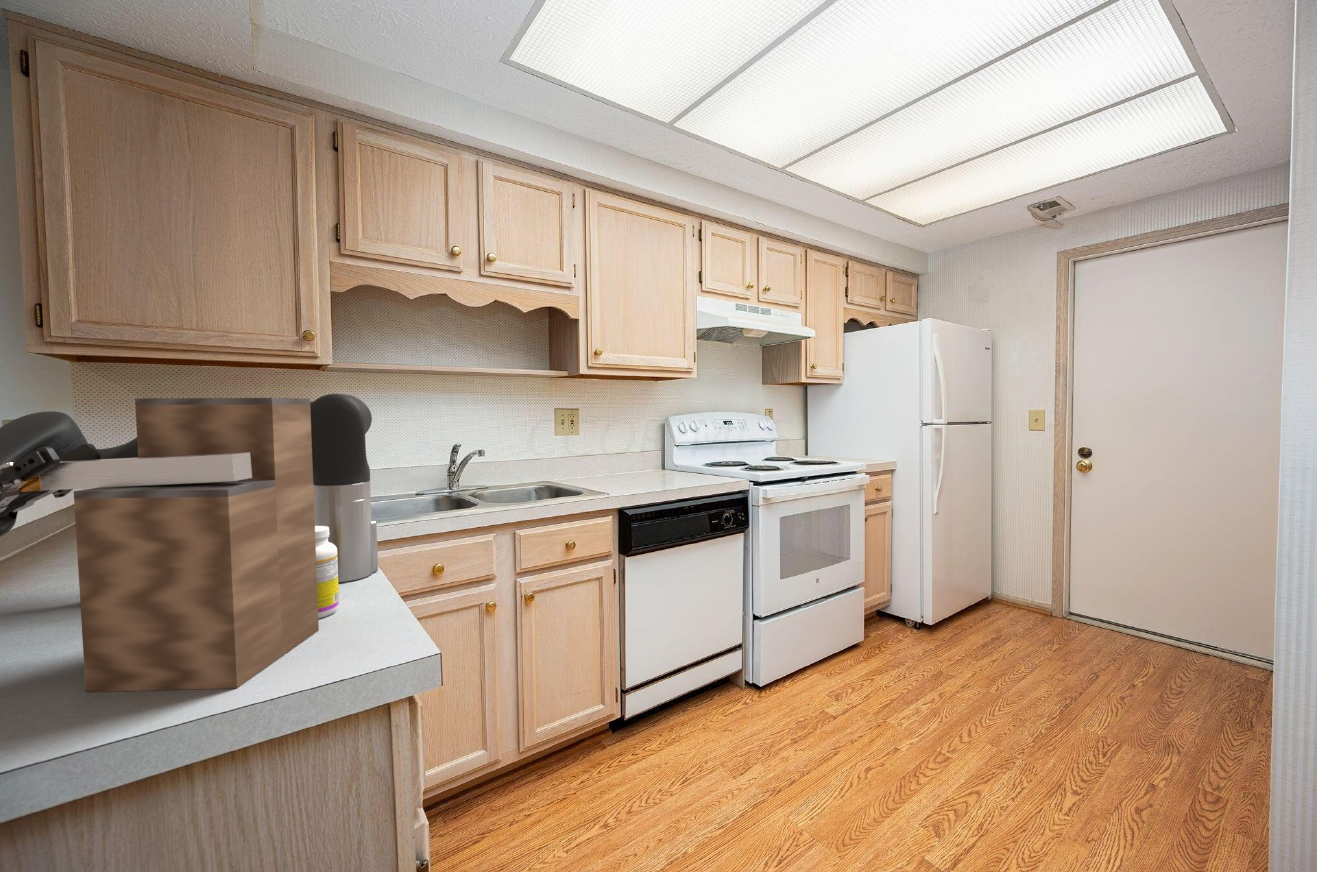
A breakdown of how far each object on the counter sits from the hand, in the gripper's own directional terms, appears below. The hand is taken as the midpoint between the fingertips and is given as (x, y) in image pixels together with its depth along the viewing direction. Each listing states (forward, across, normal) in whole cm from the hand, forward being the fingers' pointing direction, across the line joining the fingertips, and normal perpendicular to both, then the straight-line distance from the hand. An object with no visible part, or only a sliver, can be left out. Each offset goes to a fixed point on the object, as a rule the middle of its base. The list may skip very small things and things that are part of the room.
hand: (73, 452), depth 64 cm
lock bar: (+4, 0, +6) cm, 8 cm away
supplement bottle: (0, +19, +30) cm, 35 cm away
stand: (-3, +4, +28) cm, 29 cm away
